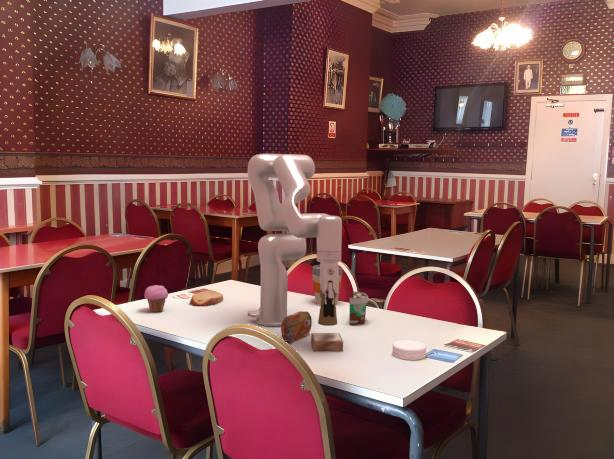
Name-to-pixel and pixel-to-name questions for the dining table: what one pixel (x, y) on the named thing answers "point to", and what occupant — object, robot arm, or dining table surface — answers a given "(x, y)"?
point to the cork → (328, 320)
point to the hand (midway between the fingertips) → (327, 314)
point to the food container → (358, 308)
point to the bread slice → (206, 298)
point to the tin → (296, 326)
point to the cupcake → (156, 297)
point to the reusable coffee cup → (317, 283)
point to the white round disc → (409, 350)
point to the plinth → (326, 342)
